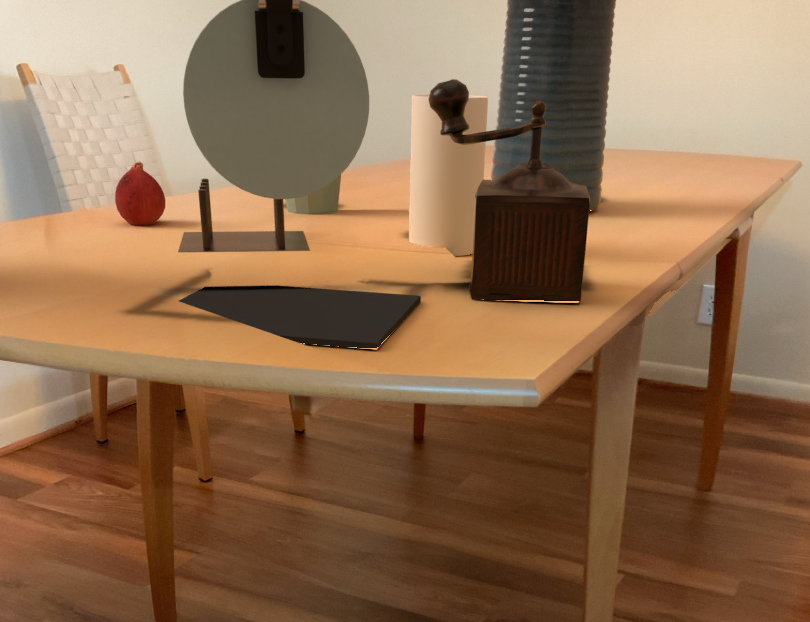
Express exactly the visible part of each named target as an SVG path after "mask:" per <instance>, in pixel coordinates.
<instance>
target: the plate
mask: <svg viewBox="0 0 810 622" xmlns="http://www.w3.org/2000/svg"><path fill="white" fill-rule="evenodd" d="M255 11H259V9H258V0H238V1H235V2H233V3H231V4H229V5H228V6H226V7H225V8H223V9H222V10H221V11H219V12H218V13H217V14H216V15H215V16H213V18H211V19H210V20H209V21H208V22H207V24H206V25H205V26H204V27H203V28H202V29H201V31H200V32H199V34H198V36H197V37H196V39H195V41H194V43H193V46H192V48H191V49H190V52H189V55H188V58H187V61H186V63H185V64H186V65H185V70H184V76H183V85H182V86H183V88H182V95H183V106H184V107H183V108H184V113H185V117H186V121H187V124H188V127H189V131H190V134H191V135H192V138H193V140H194V142H195V144H196V146H197V148H198V149H199V151H200V153H201V154H202V156H203V158H205V160H206V161H207V162H208V164H209V165H210V166H211V167H212V168H213V169H214V170H215V171H216V172H217V173H218V174H219V175H220V176H221V177H222V178H223V179H225V180H226V181H228V182H229V183H230V184H232V185H233V186H235V187H237V188H238V189H240V190H242V191H244V192H247V193H249V194H251V195H254V196H258V197H261V198H265V199H271V200H272V199H273V200H274V199H283V200H285V199H291V198H298V197H302V196H306V195H309V194H312V193H314V192H316V191H319V190H321V189H322V188H324V187H326V186H327V185H329V184H330V183H332V182H333V181H334V180H335V179H336V178H338V177H339V176H340V175H341V176H342V174H343V173H344V172H345V171H346V170H347V169H348V167H349V166H350V164H351V163H352V162H353V160H354V159H355V157H356V155H357V153H358V151H359V150H360V148H361V145H362V143H363V140H364V137H365V135H366V131H367V127H368V123H369V116H370V115H369V114H370V91H369V82H368V78H367V75H366V70H365V67H364V64H363V62H362V60H361V59H362V58H361V57H360V55H359V52H358V50H357V48H356V47H355V44H354V43H353V42H352V40H351V38H350V37H349V36H348V34H347V33H346V32H345V30H344V29H342V27H341V26H340V25H339V24H338V23H337V22H336V21H335V20H334V19H333V18H332V17H331V16H330V15H328V14H327V13H326V12H324V11H323V10H321V9H320V8H318V7H317V6H315V5H313V4H311V3H309V2H307V1H305V0H300V12H303V29H304V61H305V74H304V76H303V77H302V78H300V79H294V78H262V77H260V75H259V74H258V64H257V45H256V26H255ZM266 11H267V7H266ZM291 11H292V8H291Z"/></svg>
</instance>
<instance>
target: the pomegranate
mask: <svg viewBox="0 0 810 622" xmlns="http://www.w3.org/2000/svg"><path fill="white" fill-rule="evenodd" d="M114 201H115V202H114V203H115V206H116V210H117V212H118V213H119V215H120V217H121V218H122V219H123V220H124V221H125V222H127V223H128V224H129V225H131V226H140V227H141V226H142V227H143V226H144V227H145V226H152V225H154V224H156V223H157V222H158V221H159V220H160V219H161V218H162V216H163V215H164V212H165V209H166V196H165V193H164V191H163V188H162V186H161V184H160V183H159V182H158V181H157V180H156V178H154V176H152V175H151V174H150V173H148V172H147V171H145V170H144V164H143V162H141V161H136V162H134V163H133V165H131V167H130V169H129V170H128V171H127V172H125V173H124V174H123V175H122V177H121V178H120V179H119V180H118V182H117V185H116V187H115V192H114Z"/></svg>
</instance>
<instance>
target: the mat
mask: <svg viewBox="0 0 810 622" xmlns="http://www.w3.org/2000/svg"><path fill="white" fill-rule="evenodd" d="M421 298H422V296H421V295H418V294H417V295H415V294H403V293H388V292H375V291H363V290H362V291H361V290H346V289H333V288H320V287H307V286H293V285H292V286H291V285H281V284H280V285H278V284H276V285H275V284H274V285H269V284H268V285H267V284H266V285H218V286H216V285H215V286H213V285H211V286H203V287H202V288H199V289H198V290H196V291H194V292H191V293H190V294H188V295H186V296H184V297H183V298H180V299H178V302H179V303H183V304H185V305H187V306H191V307H194V308H196V309H198V310H199V309H200V310H202V311H205V312H208V313H210V314H214V315H216V316H220V317H223V318H226V319H228V320H231V321H234V322H237V323H240V324H243V325H246V326H249V327H251V328H254V329H258V330H260V331H263V332H266V333H267V334H268V333H269V334H272V335H275V336H277V337H280V338H283V339H285V340H289V341H292V342H294V343H297V344H300V343H302V344H301V345H303V343H305V344H317V345H330V346H339V347H357V348H377V347H379V346H380V345H381V343H382V342H383V341H384V340H385V339H386V338H387V337H388V336H389V335H390V334H391V333H392V332H393V331H394V330H395V329H396V328H397V327H398V326H399V327H400V325H402V324H403V322H404V321H406V319H407V318H408V317H409V316H410V314H412V312H413V311H414V310H415V309H416V308H417V307H418V305H420V304H421V300H422V299H421ZM415 307H416V308H415ZM407 316H408V317H407ZM406 317H407V318H406ZM405 318H406V319H405ZM403 320H404V321H403ZM399 327H398V328H399ZM398 328H397V329H398ZM397 329H396V330H397ZM396 330H395V331H396ZM395 331H394V332H395ZM394 332H393V333H394ZM393 333H392V334H393ZM392 334H391V335H392Z"/></svg>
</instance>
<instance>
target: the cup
mask: <svg viewBox="0 0 810 622" xmlns="http://www.w3.org/2000/svg"><path fill="white" fill-rule="evenodd" d="M429 95H430V93H422V94H421V93H419V94H418V93H417V94H412V95H411V111H410V112H411V116H410V117H411V118H410V120H411V121H410V126H411V127H410V161H409V162H410V163H409V164H410V165H409V172H410V173H409V213H408V214H409V215H408V216H409V218H408V219H409V220H408V242H409V243H411V244H414V245H417V246H422V247H429V248H440V249H441V248H443V249H446V250H447V251H448V252H449V253H451V255H452V256H454V257H461V256H462V257H463V256H471V255H473V238H474V222H475V207H476V199H475V194H476V192H477V190H478V187H479V185H480V183H481V181H482V180H485V179H484V177H485V163H486V161H485V160H486V144H487V141H486V142H480V143H475V144H467V145H461V144H458V143H455V142H454V141H453V140H452V139H451V137H450V136H448V135H441V134H440V131H441V129H442V121H441V119H440V118H439V116H438V115H437V113H436V112H435V111H434V110H433V109H432V108H431V107H430V104H429V100H428V99H429ZM488 106H489V97H488V96H487V95H486V96H485V95H477V94H476V95H475V94H469V99H468V102H467V104H466V106H465V111H464V118H465V120H466V122H467V124H468V125H469V129H468V130H466V131H465V132H463V135H467V134H475V133H480V132H486V131H487V127H488V126H487V125H488V108H489V107H488ZM470 254H471V255H470Z"/></svg>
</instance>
